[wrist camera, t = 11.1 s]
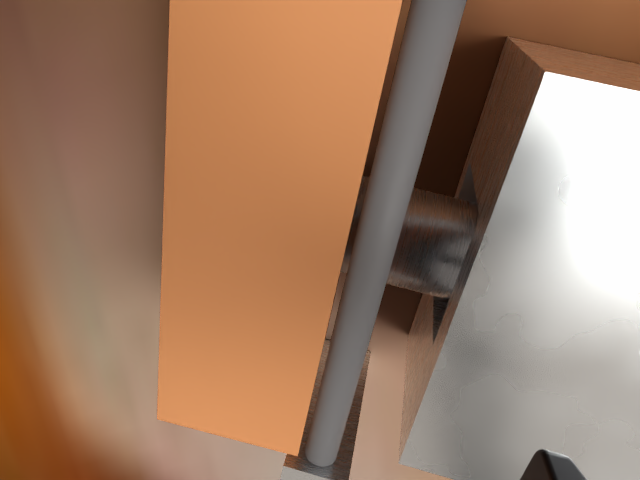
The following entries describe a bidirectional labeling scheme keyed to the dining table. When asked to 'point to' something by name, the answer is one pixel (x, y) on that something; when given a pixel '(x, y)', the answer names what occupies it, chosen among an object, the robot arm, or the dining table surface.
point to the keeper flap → (285, 204)
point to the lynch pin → (426, 241)
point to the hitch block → (531, 287)
